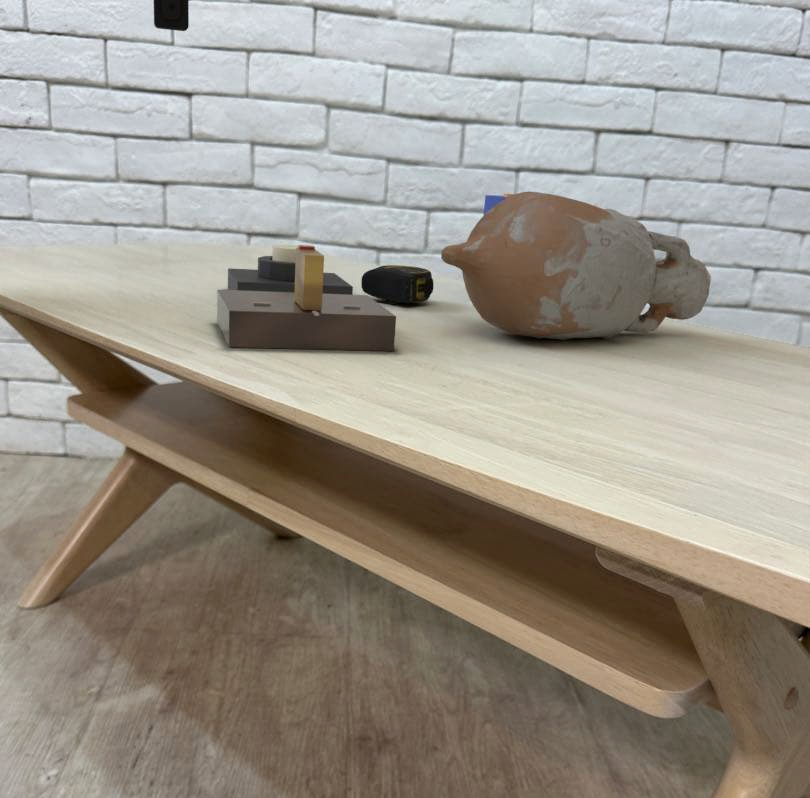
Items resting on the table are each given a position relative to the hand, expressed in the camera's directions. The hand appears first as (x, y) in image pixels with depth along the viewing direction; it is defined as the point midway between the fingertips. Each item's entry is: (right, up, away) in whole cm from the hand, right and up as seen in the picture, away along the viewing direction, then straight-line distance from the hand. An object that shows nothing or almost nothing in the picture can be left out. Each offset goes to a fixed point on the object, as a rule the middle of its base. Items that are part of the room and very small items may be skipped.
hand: (171, 28), depth 97 cm
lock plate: (+14, -32, -8) cm, 35 cm away
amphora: (+39, -30, +1) cm, 49 cm away
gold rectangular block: (+14, -30, -11) cm, 35 cm away
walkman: (+35, -21, +23) cm, 47 cm away
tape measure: (+22, -24, +13) cm, 35 cm away
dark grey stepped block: (+10, -23, +11) cm, 28 cm away
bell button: (+10, -20, +10) cm, 25 cm away
